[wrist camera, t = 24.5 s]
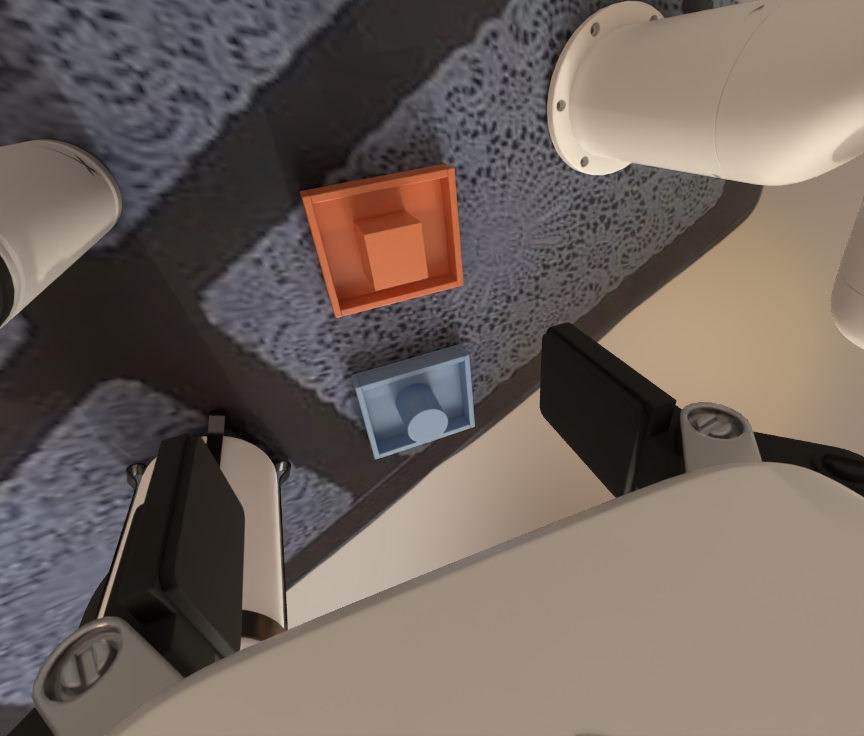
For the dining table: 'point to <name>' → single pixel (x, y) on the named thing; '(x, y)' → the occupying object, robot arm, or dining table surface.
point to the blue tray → (433, 369)
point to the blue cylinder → (421, 413)
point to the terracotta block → (391, 249)
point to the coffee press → (262, 532)
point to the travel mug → (48, 215)
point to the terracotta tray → (409, 190)
